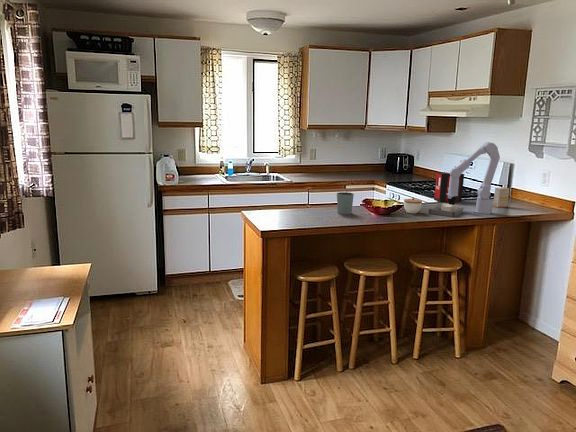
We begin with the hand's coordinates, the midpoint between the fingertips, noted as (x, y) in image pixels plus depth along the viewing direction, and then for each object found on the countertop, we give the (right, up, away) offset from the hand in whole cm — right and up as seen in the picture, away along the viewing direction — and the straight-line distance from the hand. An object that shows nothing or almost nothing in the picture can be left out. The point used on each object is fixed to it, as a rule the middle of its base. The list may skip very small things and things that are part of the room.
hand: (451, 208), depth 308 cm
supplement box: (+40, +1, +19) cm, 44 cm away
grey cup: (-71, -3, -19) cm, 74 cm away
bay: (-6, -3, -8) cm, 11 cm away
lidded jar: (-28, -3, -10) cm, 30 cm away
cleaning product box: (+9, +6, +36) cm, 38 cm away
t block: (-4, -2, -5) cm, 7 cm away
